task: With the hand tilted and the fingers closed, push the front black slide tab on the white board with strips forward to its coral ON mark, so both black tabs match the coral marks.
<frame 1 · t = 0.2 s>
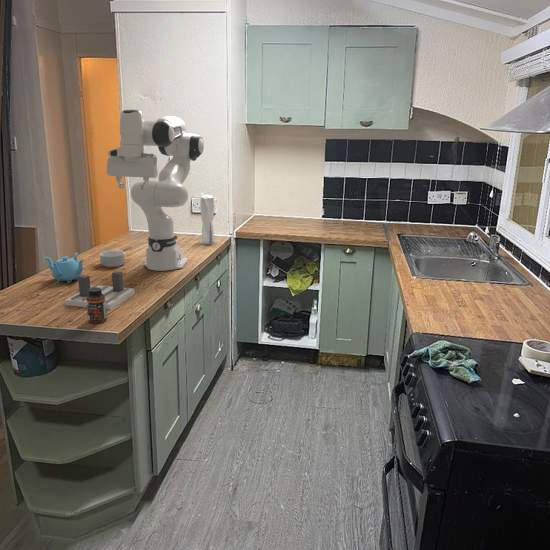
hand: (132, 188, 197), 39 cm above the table, tool pointing down, fingers open, 8 cm apart
switch tab 2: (84, 285, 186), point 6 cm above the table, slide at 8.0 cm
teapot: (67, 280, 211), on the table
white board with strips: (101, 299, 189), on the table
switch tab 1: (117, 281, 191), point 6 cm above the table, slide at 0.0 cm
saucepan: (118, 263, 237), on the table
skyscraper: (207, 243, 277), on the table
supplement bottle: (97, 321, 170), on the table
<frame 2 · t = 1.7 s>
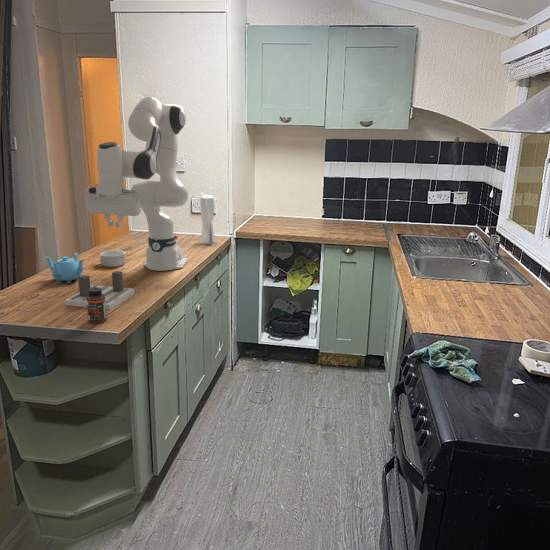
hand: (114, 226, 186), 27 cm above the table, tool pointing down, fingers closed
nothing on the table moved.
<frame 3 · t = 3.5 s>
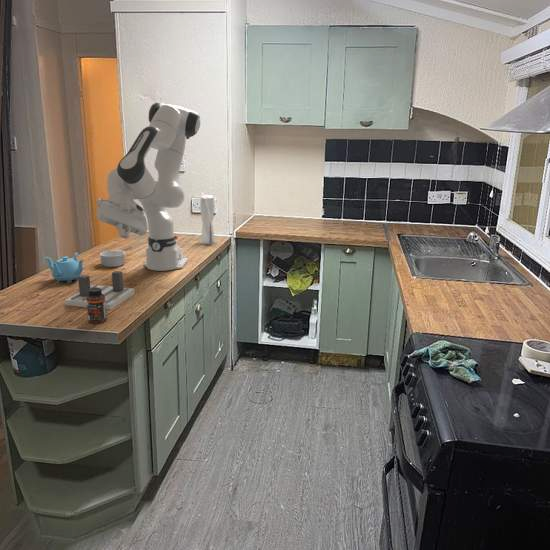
hand: (124, 236, 182), 24 cm above the table, tool tilted 45°, fingers closed
nothing on the table moved.
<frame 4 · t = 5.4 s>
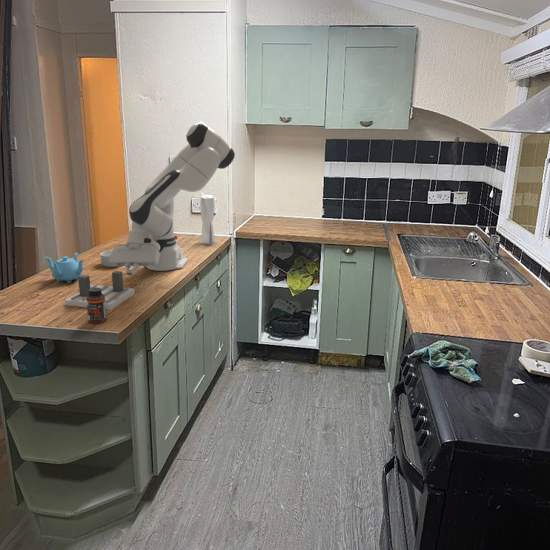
hand: (129, 274, 195), 7 cm above the table, tool tilted 45°, fingers closed
nothing on the table moved.
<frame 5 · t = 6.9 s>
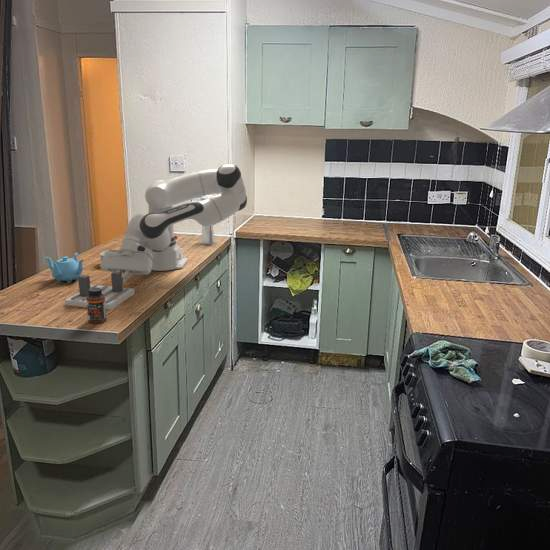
hand: (120, 281, 193), 5 cm above the table, tool tilted 45°, fingers closed, pressing on switch tab 1
switch tab 1: (117, 281, 191), point 6 cm above the table, slide at 0.5 cm, touching gripper
everything else where it was.
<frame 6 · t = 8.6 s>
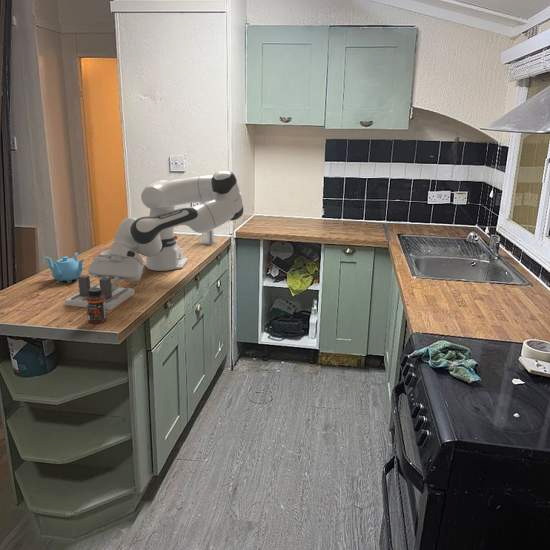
hand: (109, 288, 185), 5 cm above the table, tool tilted 45°, fingers closed, pressing on switch tab 1
switch tab 1: (105, 288, 183), point 6 cm above the table, slide at 8.6 cm, touching gripper
everything else where it was.
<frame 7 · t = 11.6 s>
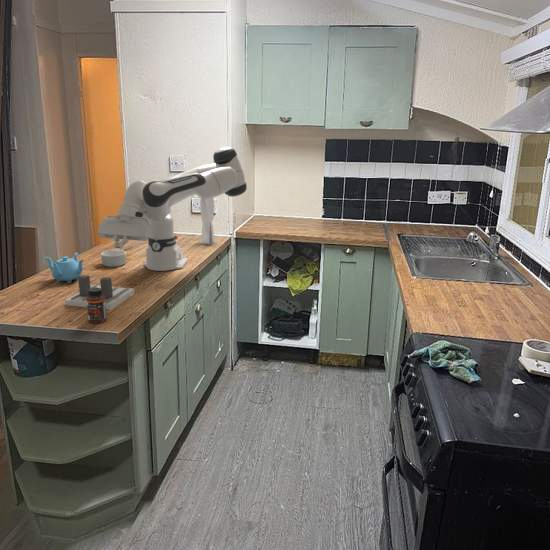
hand: (117, 247, 190), 19 cm above the table, tool tilted 45°, fingers closed
switch tab 1: (106, 288, 184), point 6 cm above the table, slide at 8.1 cm
everything else where it was.
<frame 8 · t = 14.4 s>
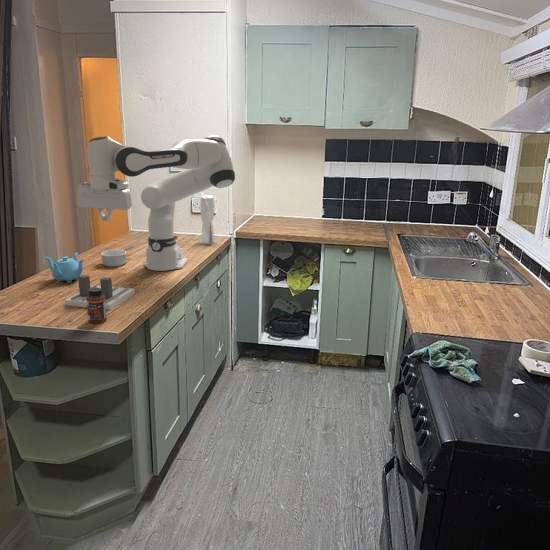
hand: (105, 220, 186), 29 cm above the table, tool pointing down, fingers closed
at the end: switch tab 1 slide at 8.1 cm; switch tab 2 slide at 8.0 cm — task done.
